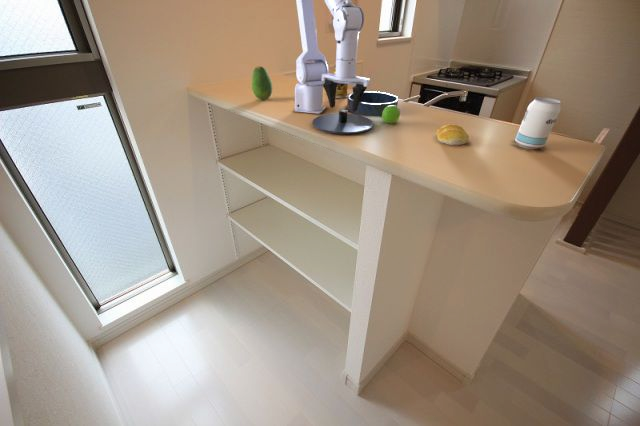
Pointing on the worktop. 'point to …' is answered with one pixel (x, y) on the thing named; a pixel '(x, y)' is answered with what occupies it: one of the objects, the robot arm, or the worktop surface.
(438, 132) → the bread roll
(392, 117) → the lime
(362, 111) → the pot
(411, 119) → the worktop surface
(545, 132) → the beverage can
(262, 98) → the fruit
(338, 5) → the robot arm
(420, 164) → the worktop surface
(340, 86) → the condiment
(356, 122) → the lid
